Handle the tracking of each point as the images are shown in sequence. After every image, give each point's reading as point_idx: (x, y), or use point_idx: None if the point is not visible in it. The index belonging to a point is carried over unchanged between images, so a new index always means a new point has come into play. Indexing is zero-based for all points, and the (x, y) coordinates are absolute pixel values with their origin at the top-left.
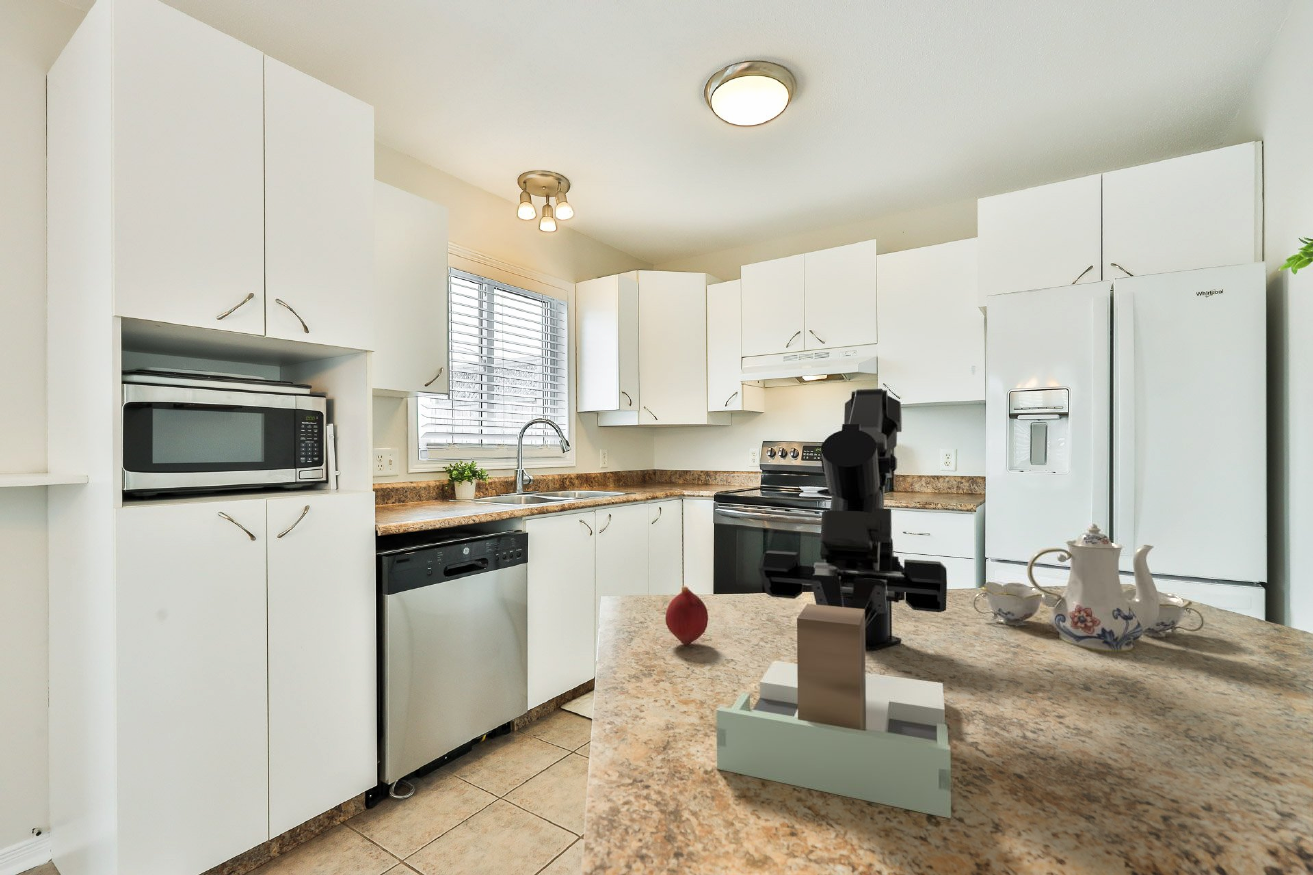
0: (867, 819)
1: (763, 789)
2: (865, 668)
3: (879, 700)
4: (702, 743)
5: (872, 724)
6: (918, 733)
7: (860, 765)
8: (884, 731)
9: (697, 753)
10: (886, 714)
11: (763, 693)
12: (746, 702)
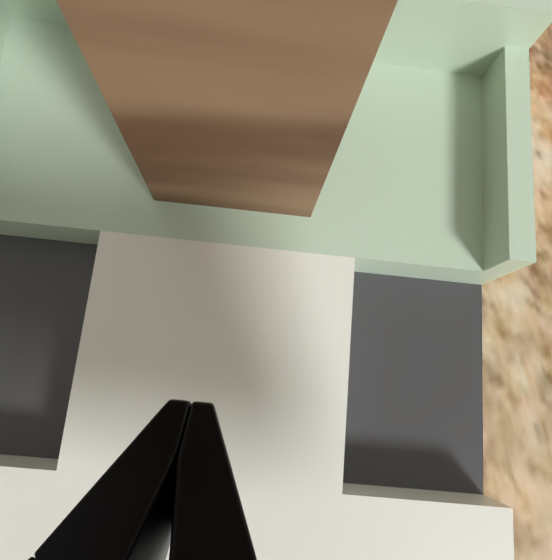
0: None
1: None
2: (98, 84)
3: (89, 465)
4: (541, 188)
5: (131, 270)
6: (5, 379)
7: None
8: (101, 233)
9: (534, 143)
10: (80, 353)
11: (478, 496)
12: (502, 223)
